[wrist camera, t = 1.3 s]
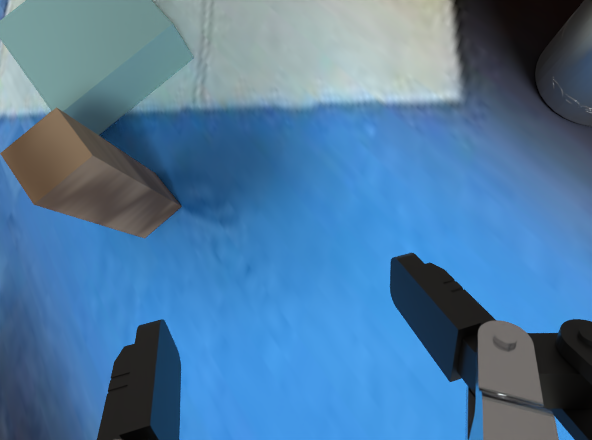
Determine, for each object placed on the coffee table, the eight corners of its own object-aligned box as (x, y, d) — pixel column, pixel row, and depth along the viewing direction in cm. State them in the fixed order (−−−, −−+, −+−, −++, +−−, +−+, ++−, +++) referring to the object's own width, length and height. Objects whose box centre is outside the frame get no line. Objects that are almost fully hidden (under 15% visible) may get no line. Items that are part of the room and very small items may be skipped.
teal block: (128, -13, 39) (98, -57, 35) (195, 60, 36) (172, 23, 31) (35, 61, 39) (-9, 27, 34) (94, 141, 36) (56, 117, 31)
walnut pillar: (155, 173, 34) (56, 107, 22) (181, 206, 33) (92, 155, 21) (119, 203, 33) (0, 153, 22) (144, 238, 32) (33, 204, 21)
